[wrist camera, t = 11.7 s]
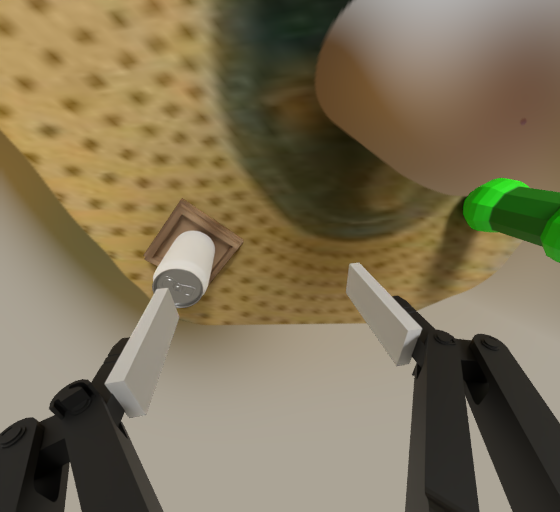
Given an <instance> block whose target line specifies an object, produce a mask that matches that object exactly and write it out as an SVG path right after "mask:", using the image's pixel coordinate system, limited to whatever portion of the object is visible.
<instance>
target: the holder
mask: <svg viewBox="0 0 560 512" xmlns="http://www.w3.org/2000/svg"><path fill="white" fill-rule="evenodd" d="M186 231H199V232H202V233H204V234H206V235H207V236H209V237H210V238H211V240H212V241H213V243H214V246H215V255H214V260H213V265H212V270H211V274H210V279H209V283H208V285H209V284H210V283H211V281H212V280H213V279H214V278H215V276H216V275H217V274H218V273H219V271H220V270H221V269H222V268H223V267H224V265H225V264H226V263H227V262H228V260H229V259H230V258H231V257H232V255H233V254H234V253H235V252H236V250H237V249H238V248H239V247H240V246H241V244H242V243H243V239H242V238H240V237H239V236H237V235H236V234H234V233H233V232H231V231H230V230H228V229H227V228H225V227H224V226H222V225H221V224H220V223H218V222H217V221H215V220H214V219H212V218H211V217H209V216H208V215H206V214H205V213H203V212H202V211H200V210H199V209H197V208H196V207H194V206H193V205H191V204H190V203H188V202H187V201H186V200H184V199H183V198H182V199H181V200H180V202H179V203H178V205H177V206H176V208H175V209H174V211H173V212H172V214H171V215H170V217H169V218H168V220H167V221H166V223H165V224H164V226H163V227H162V229H161V230H160V232H159V233H158V235H157V236H156V238H155V239H154V241H153V242H152V244H151V245H150V246H149V248H148V249H147V251H146V252H145V254H144V255H143V256H145V260H146V261H148V262H150V263H152V264H154V265H156V266H159V264H160V263H161V261H162V259H163V258H164V256H165V255H166V253H167V252H168V250H169V249H170V247H171V246H172V244H173V243H174V241H175V240H176V238H177V237H178V236H179V235H180V234H182V233H184V232H186Z"/></svg>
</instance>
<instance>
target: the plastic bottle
mask: <svg viewBox="0 0 560 512" xmlns="http://www.w3.org/2000/svg"><path fill="white" fill-rule="evenodd" d="M463 215H464V217H465V219H466V221H467V223H468V225H469V226H470V227H471V228H472V229H474V230H477V231H484V232H500V233H503V234H506V235H509V236H512V237H515V238H518V239H521V240H524V241H527V242H531V243H533V244H537V245H539V246H542V247H543V248H544V250H545V253H546V255H547V256H548V257H550V258H552V259H553V260H555V261H557V262H559V263H560V193H559V192H553V191H546V190H539V189H533V188H529V187H528V186H527V185H526V184H524V183H522V182H521V181H516V180H511V179H505V178H498V179H494V180H491V181H490V182H487V183H486V184H484V185H482V186H480V187H478V188H476V189H475V190H474V191H472V192H471V193H470V194H469V195H468V196H467V198H466V199H465V201H464V205H463Z"/></svg>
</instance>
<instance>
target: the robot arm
mask: <svg viewBox="0 0 560 512" xmlns="http://www.w3.org/2000/svg"><path fill="white" fill-rule="evenodd" d="M346 294H347V295H348V296H349V298H350V299H351V301H352V302H353V304H354V305H355V307H356V308H357V309H358V311H359V312H360V314H361V315H362V317H363V318H364V320H365V321H366V323H367V324H368V325H369V327H370V328H371V330H372V331H373V332H374V334H375V336H376V337H377V338H378V340H379V341H380V343H381V344H382V346H383V347H384V348H385V350H386V351H387V353H388V354H389V356H390V357H391V359H392V360H393V362H394V363H395V364H396V366H400V365H405V364H409V363H410V360H411V358H412V357H413V358H414V360H415V361H416V362H417V364H416V366H415V368H414V371H413V374H412V375H413V376H414V375H415V378H414V392H413V406H412V422H411V435H410V449H409V464H408V478H407V492H406V507H405V512H479V504H478V496H477V488H476V480H475V472H474V464H473V456H472V448H471V440H470V432H469V423H468V416H467V407H466V399H465V396H466V398H467V401H468V403H469V406H470V408H471V411H472V413H473V415H474V418H475V420H476V423H477V425H478V428H479V430H480V432H481V435H482V437H483V440H484V442H485V445H486V447H487V450H488V452H489V455H490V457H491V460H492V462H493V464H494V467H495V469H496V472H497V474H498V477H499V479H500V482H501V484H502V486H503V489H504V492H505V494H506V496H507V499H508V501H509V504H510V506H511V509H512V511H513V512H560V423H559V422H558V420H557V419H556V417H555V416H554V415H553V413H552V412H551V410H550V409H549V407H548V406H547V404H546V403H545V401H544V400H543V399H542V397H541V396H540V394H539V393H538V391H537V390H536V388H535V387H534V386H533V384H532V383H531V381H530V380H529V378H528V377H527V375H526V374H525V373H524V371H523V370H522V368H521V367H520V365H519V364H518V363H517V361H516V360H515V358H514V357H513V355H512V354H511V353H510V351H509V350H508V348H507V347H506V346H505V345H504V344H503V343H502V342H501V341H499V340H498V339H496V338H494V337H491V336H489V335H485V334H477V335H475V336H474V337H473V339H472V340H461V339H455V338H454V337H453V336H451V335H450V334H449V333H447V332H444V331H440V330H435V329H434V328H433V327H432V326H431V325H430V324H429V323H428V322H427V321H426V320H425V319H424V318H423V317H422V316H421V315H420V314H419V313H418V312H416V310H415V309H414V308H413V307H411V305H410V304H409V303H408V302H407V301H406V300H404V299H402V298H401V297H399V296H391V295H390V294H389V293H388V292H387V291H386V290H385V289H384V288H383V287H382V286H381V285H380V284H379V283H378V282H377V281H376V280H375V279H374V278H373V277H372V276H371V275H370V274H369V273H368V271H367V270H366V269H365V268H364V267H363V266H362V265H361V264H360V263H352V264H349V271H348V280H347V288H346ZM178 320H179V315H178V312H177V310H176V307H175V304H174V301H173V299H172V296H171V293H170V290H169V288H162V289H157V290H156V291H155V293H154V295H153V297H152V299H151V300H150V302H149V304H148V306H147V308H146V310H145V311H144V313H143V315H142V317H141V319H140V320H139V322H138V324H137V326H136V328H135V330H134V331H133V333H132V335H131V337H129V338H122V339H121V340H120V341H119V342H118V343H117V344H116V345H114V346H113V348H112V349H111V351H110V353H109V354H108V357H107V358H106V359H105V361H104V364H103V365H102V366H101V368H100V369H99V371H98V372H97V374H96V376H95V377H94V379H93V381H92V382H90V381H89V380H83V379H82V380H78V381H75V382H73V383H71V384H69V385H67V386H66V387H64V388H63V389H62V390H61V391H59V392H58V393H57V394H56V395H55V396H54V398H53V399H52V401H51V403H50V407H49V409H50V410H51V411H52V412H53V413H54V414H55V415H54V416H52V417H50V418H47V419H45V420H43V421H41V422H38V421H37V420H36V419H34V418H25V419H22V420H20V421H17V422H16V423H14V424H13V425H11V426H9V427H8V428H7V429H5V430H4V431H3V432H2V433H1V434H0V512H64V507H65V499H66V489H67V481H68V472H69V462H70V463H71V467H72V471H73V476H74V480H75V484H76V488H77V492H78V497H79V501H80V505H81V510H82V512H163V510H162V507H161V505H160V503H159V501H158V499H157V497H156V494H155V492H154V490H153V488H152V486H151V484H150V481H149V479H148V477H147V475H146V473H145V470H144V469H143V466H142V464H141V462H140V460H139V458H138V455H137V453H136V451H135V449H134V447H133V445H132V442H131V440H130V438H129V436H128V434H127V431H126V429H125V427H124V425H123V423H122V422H121V419H122V417H123V414H124V412H125V413H126V414H127V416H128V417H129V418H133V417H138V416H143V415H146V414H147V411H148V408H149V405H150V402H151V399H152V396H153V394H154V391H155V388H156V385H157V382H158V379H159V376H160V373H161V370H162V367H163V364H164V361H165V358H166V355H167V352H168V349H169V346H170V343H171V340H172V337H173V335H174V332H175V328H176V326H177V322H178Z"/></svg>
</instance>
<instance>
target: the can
mask: <svg viewBox="0 0 560 512" xmlns="http://www.w3.org/2000/svg"><path fill="white" fill-rule="evenodd" d="M214 255H215V246H214V243H213V241H212V240H211V238H210V237H209V236H207V235H206V234H204V233H202V232H199V231H186V232H184V233H182V234H180V235H179V236H178V237H177V238H176V240H175V241H174V243H173V244H172V246H171V247H170V249H169V250H168V252H167V253H166V255H165V256H164V258H163V259H162V261H161V263H160V264H159V266H158V267H157V269H156V271H155V273H154V276H153V285H152V289H153V293H155V291H156V290H157V289H162V288H169V290H170V293H171V296H172V299H173V301H174V304H175V307H176V308H186V307H189V306H192V305H194V304H195V303H197V302H198V301H199V300H200V298H201V297H202V295H203V294H204V293H205V292H206V290H207V287H208V283H209V279H210V274H211V270H212V265H213V260H214Z"/></svg>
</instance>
